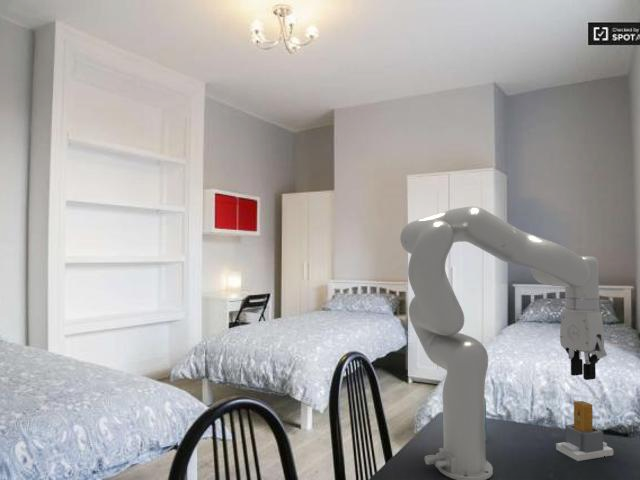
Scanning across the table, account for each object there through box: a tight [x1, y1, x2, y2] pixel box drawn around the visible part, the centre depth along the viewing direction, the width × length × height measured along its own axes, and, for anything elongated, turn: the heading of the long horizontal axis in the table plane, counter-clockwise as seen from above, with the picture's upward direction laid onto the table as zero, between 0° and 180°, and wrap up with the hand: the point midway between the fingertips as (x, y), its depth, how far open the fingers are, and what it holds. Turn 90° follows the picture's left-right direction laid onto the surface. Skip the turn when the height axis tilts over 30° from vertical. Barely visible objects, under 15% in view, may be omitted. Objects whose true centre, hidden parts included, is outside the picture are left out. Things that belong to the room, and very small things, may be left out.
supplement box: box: [573, 400, 594, 433], centre depth 122 cm, size 3×3×10 cm
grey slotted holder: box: [555, 423, 614, 462], centre depth 122 cm, size 11×7×6 cm, turn 106°
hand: (583, 376), depth 122 cm, fingers open, 3 cm apart
